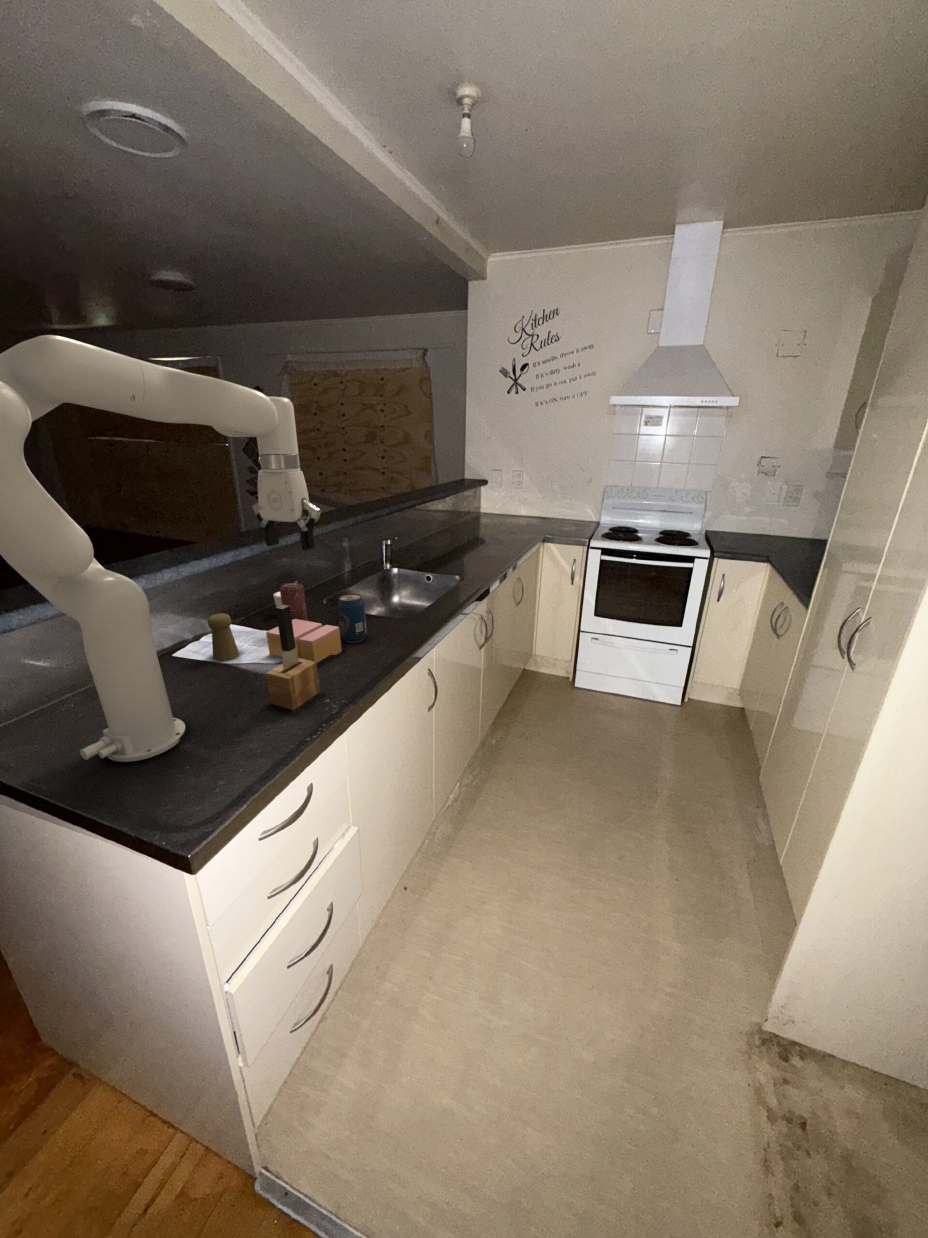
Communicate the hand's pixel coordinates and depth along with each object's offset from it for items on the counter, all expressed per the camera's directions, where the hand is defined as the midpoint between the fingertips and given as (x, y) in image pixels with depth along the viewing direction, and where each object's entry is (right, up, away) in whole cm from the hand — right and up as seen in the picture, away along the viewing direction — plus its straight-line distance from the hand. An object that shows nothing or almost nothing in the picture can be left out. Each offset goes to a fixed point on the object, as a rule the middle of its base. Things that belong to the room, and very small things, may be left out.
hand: (290, 547), depth 104 cm
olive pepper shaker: (-22, -25, +18) cm, 38 cm away
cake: (-5, -24, +20) cm, 31 cm away
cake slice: (+2, -25, +16) cm, 30 cm away
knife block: (+2, -33, -3) cm, 33 cm away
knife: (+2, -32, -4) cm, 32 cm away
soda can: (+8, -21, +28) cm, 35 cm away
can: (-10, -19, +33) cm, 39 cm away
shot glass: (-17, -14, +45) cm, 50 cm away
